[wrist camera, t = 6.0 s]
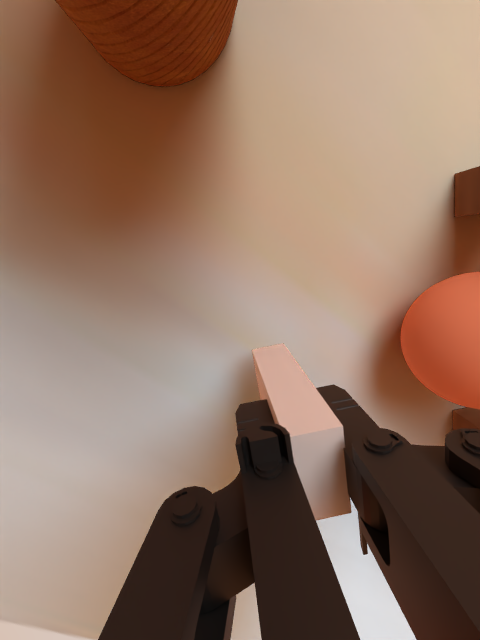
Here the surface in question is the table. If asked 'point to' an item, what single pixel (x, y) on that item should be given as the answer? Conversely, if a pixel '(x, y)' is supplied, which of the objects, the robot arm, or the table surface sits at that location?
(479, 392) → the ball
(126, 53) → the disposable coffee cup
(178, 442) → the table surface
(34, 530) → the table surface
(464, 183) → the bridge
